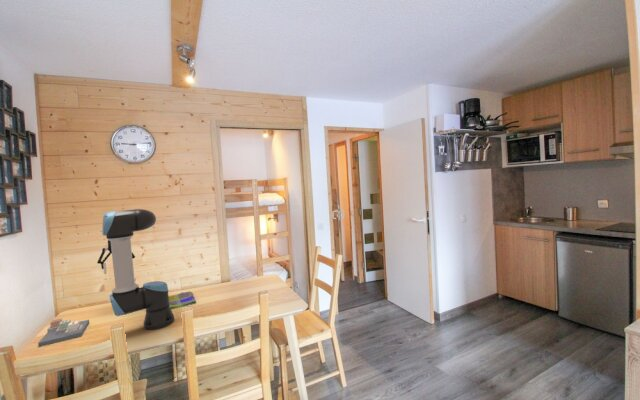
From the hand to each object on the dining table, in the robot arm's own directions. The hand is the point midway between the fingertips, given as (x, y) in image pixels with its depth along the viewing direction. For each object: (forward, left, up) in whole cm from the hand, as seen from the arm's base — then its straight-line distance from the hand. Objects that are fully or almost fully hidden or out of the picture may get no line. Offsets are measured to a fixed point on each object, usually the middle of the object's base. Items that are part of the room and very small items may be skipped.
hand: (118, 271), depth 192 cm
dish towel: (-13, -34, -25) cm, 44 cm away
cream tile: (-30, +18, -21) cm, 41 cm away
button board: (-24, +23, -25) cm, 42 cm away
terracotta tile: (-18, +28, -21) cm, 39 cm away
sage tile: (-24, +23, -21) cm, 39 cm away
